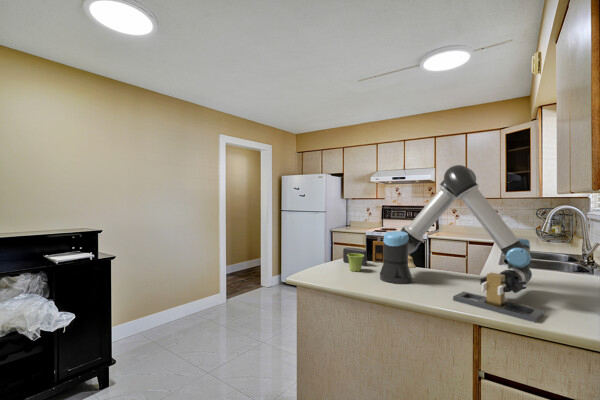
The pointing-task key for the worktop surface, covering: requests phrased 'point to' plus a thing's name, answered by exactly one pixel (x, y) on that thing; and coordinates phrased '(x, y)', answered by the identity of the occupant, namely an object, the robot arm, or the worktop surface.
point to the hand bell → (410, 261)
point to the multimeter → (378, 250)
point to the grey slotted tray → (505, 309)
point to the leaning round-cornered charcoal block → (356, 251)
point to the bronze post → (495, 289)
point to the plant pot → (355, 261)
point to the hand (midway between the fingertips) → (490, 289)
